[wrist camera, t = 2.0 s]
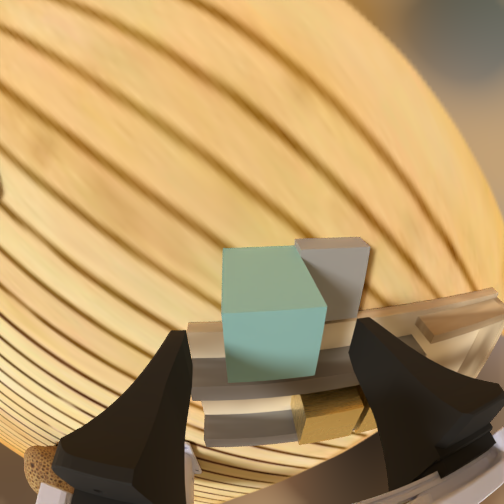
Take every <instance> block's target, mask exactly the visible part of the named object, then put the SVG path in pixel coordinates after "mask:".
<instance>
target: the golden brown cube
mask: <svg viewBox="0 0 504 504" xmlns="http://www.w3.org/2000/svg"><path fill="white" fill-rule="evenodd" d="M290 406H291V411H292V415H293V420H294V424H295V429H296V433H297V438H298V442H299V445H302V444H308V443H314V442H320V441H325V440H330V439H335V438H340V437H344V436H349V435H350V434H351V432H352V430H353V429H354V427H355V425H356V423H357V421H358V419H359V417H360V415H361V413H362V411H363V409H364V405H363V403H362V401H361V398H360V396H359V394H358V392H357V389H356V387H355V386H350V387H344V388H339V389H333V390H327V391H321V392H314V393H307V394H300V395H292V397H291V403H290Z"/></svg>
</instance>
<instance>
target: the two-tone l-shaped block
mask: <svg viewBox="0 0 504 504" xmlns="http://www.w3.org/2000/svg"><path fill="white" fill-rule="evenodd" d="M369 253H370V246H369V245H368V244H367V243H366V242H365V241H363V240H362V239H361V238H360V237H342V238H309V239H295V246H271V247H246V248H223V264H222V312H221V314H222V325H223V337H224V347H225V358H226V368H227V377H228V383H235V382H253V381H267V380H278V379H288V378H297V377H306V376H313V375H315V371H316V366H317V361H318V356H319V351H320V346H321V341H322V335H323V330H324V324H325V321H333V320H342V319H350V318H357V314H358V309H359V305H360V300H361V296H362V291H363V286H364V281H365V276H366V270H367V265H368V259H369Z"/></svg>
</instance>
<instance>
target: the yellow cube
mask: <svg viewBox="0 0 504 504" xmlns="http://www.w3.org/2000/svg"><path fill="white" fill-rule="evenodd" d="M355 387H356V389H357V392H358V394H359V396H360V398H361V401H362V403H363V405H364V409H363V411H362V413H361V415H360V417H359V419H358V421H357V423H356V425H355V427H354V430H355V432H356V434H357V433H361V432H365V431H368V430H372V429H376V428H377V425H376V422H375V418H374V415H373V413H372V410H371V408H370V406H369V404H368V401H367V399H366V397H365V395H364V393H363V390H362V388H361V386H360V385H355Z"/></svg>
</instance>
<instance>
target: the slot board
mask: <svg viewBox="0 0 504 504" xmlns="http://www.w3.org/2000/svg"><path fill="white" fill-rule="evenodd" d="M497 295H498V292H497V291H496V290H495V289H493V288H489V289H484V290H480V291H475V292H470V293H465V294H461V295H456V296H450V297H445V298H440V299H434V300H429V301H423V302H417V303H411V304H404V305H398V306H391V307H384V308H377V309H369V310H362V311H358V314H357V318H350V319H342V320H333V321H325V324H324V330H323V335H322V341H321V346H320V351H319V356H318V361H317V366H316V371H315V375H313V376H306V377H297V378H288V379H278V380H267V381H253V382H235V383H228V377H227V368H226V358H225V347H224V337H223V325H222V322H195V323H188V329H187V336H188V341H189V346H190V351H191V356H192V363H193V376H192V390H191V396H192V400H193V401H201V402H202V406H203V410H204V414H205V422H204V441H205V444H206V447H238V446H255V445H267V444H277V443H286V442H294V441H298V438H297V433H296V429H295V424H294V420H293V415H292V411H291V406H290V403H291V397H292V395H300V394H307V393H314V392H321V391H327V390H333V389H339V388H344V387H350V386H355V385H360V384H359V382H358V380H357V377H356V375H355V373H354V370H353V367H352V364H351V361H350V357H349V354H348V351H349V348H350V344H351V340H352V336H353V332H354V328H355V324H356V320H357V319H358V318H365V317H370V318H371V319H373V320H374V321H376V322H377V323H378V324H380V325H381V326H382V327H384V328H385V329H386V330H388V331H389V332H390V333H392V334H393V335H394V336H396V337H397V338H398V339H400V340H401V341H403V342H404V343H405V344H407V345H408V346H410V347H411V348H413V349H414V350H416V351H417V352H419V353H420V354H422V355H424V356H425V357H427V358H429V359H430V360H432V361H434V362H436V363H438V364H440V365H442V366H444V367H446V368H448V369H450V370H453V371H455V372H458V373H460V374H463V375H466V376H469V377H472V378H475V379H476V377H477V376H478V374H479V372H480V371H481V369H482V367H483V365H484V364H485V362H486V361H487V359H488V357H489V355H490V354H491V352H492V350H493V348H494V346H495V344H496V342H497V340H498V339H499V337H500V335H501V333H502V331H503V329H504V303H503V302H502V301H500V300H499V299H498V298H497ZM353 430H354V429H353ZM353 430H352V431H353Z"/></svg>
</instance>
